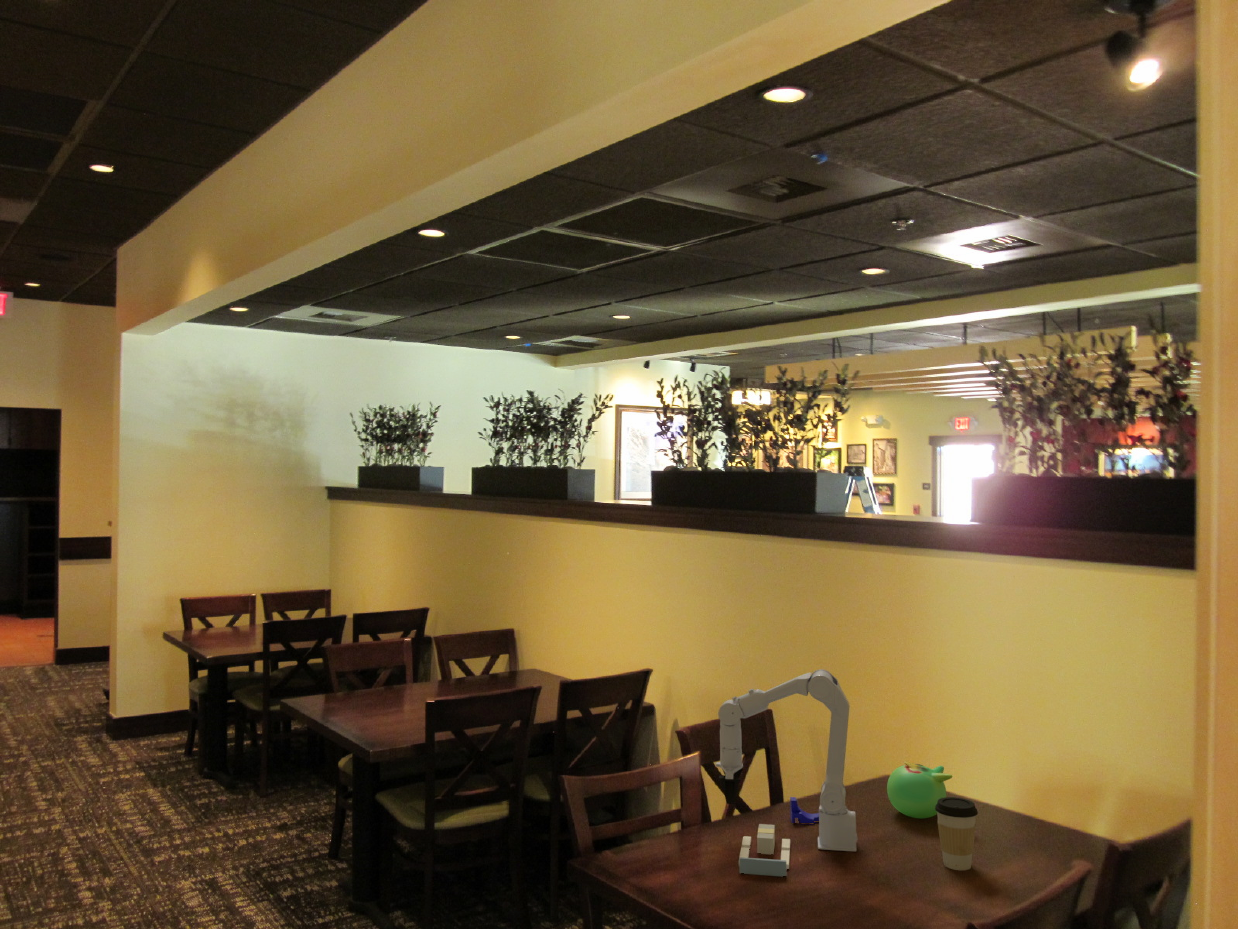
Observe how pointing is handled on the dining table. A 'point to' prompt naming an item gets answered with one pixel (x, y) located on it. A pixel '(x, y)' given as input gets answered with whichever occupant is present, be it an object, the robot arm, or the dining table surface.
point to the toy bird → (917, 789)
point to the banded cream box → (766, 839)
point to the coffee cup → (956, 831)
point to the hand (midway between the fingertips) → (731, 799)
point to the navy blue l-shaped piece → (801, 813)
